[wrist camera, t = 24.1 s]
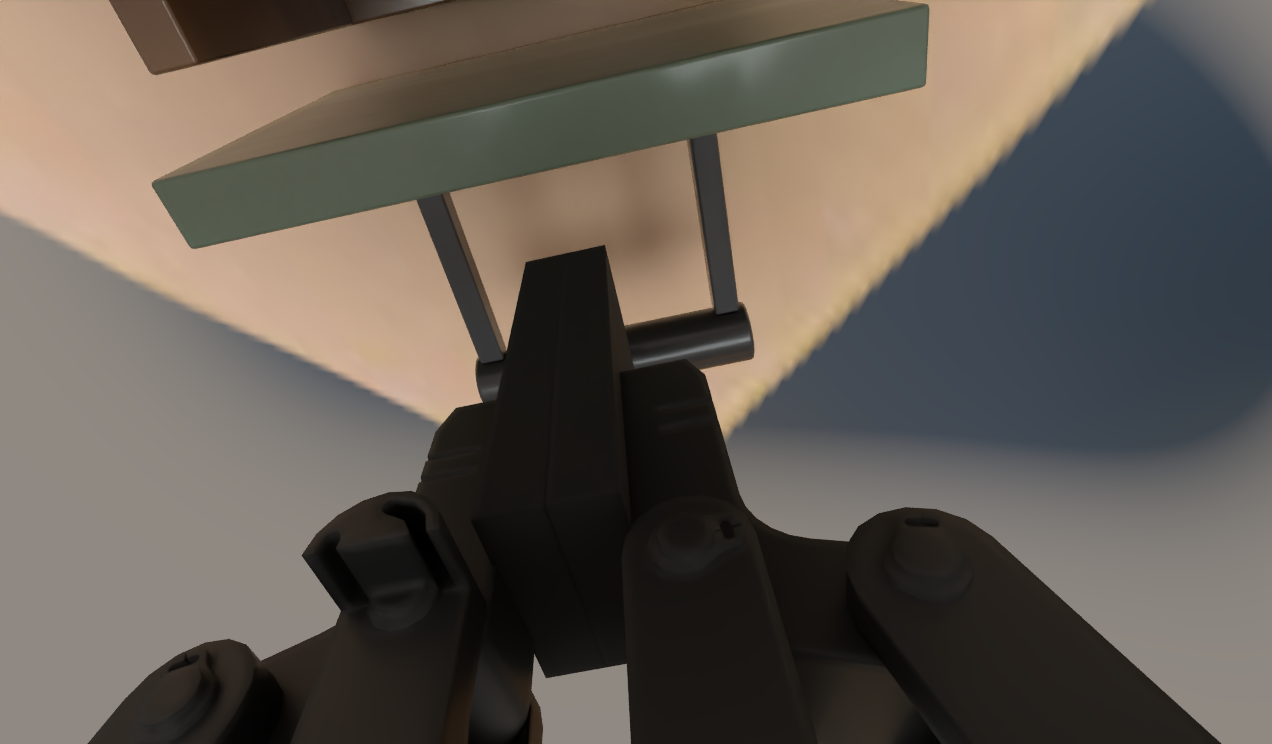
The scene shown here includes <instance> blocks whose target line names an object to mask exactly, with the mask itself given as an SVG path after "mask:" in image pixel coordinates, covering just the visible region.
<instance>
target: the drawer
mask: <svg viewBox="0 0 1272 744" xmlns="http://www.w3.org/2000/svg"><path fill="white" fill-rule="evenodd" d="M109 1H110V3H111V5H112V6H113V8H114V10H115V12H116V13H117V15H118V17H119V19H120V21H121V22H122V24H123V26H124V28H125V29H126V31H127V33H128V35H129V36H130V38H131V40H132V42H133V43H134V45H135V47H136V49H137V51H138V52H139V54H140V56H141V58H142V59H143V61H144V63H145V65H146V66H147V68H148V70H149V72H150V73H151V74H153V75H159V74H163V73H168V72H172V71H176V70H180V69H184V68H188V67H193V66H197V65H201V64H205V63H208V62H212V61H216V60H220V59H224V58H228V57H232V56H236V55H239V54H243V53H247V52H251V51H255V50H259V49H263V48H267V47H270V46H274V45H278V44H282V43H286V42H290V41H294V40H298V39H301V38H305V37H309V36H313V35H317V34H321V33H325V32H329V31H332V30H336V29H340V28H344V27H348V26H352V25H356V24H360V23H364V22H369V21H373V20H377V19H381V18H385V17H389V16H394V15H398V14H402V13H406V12H410V11H414V10H419V9H423V8H427V7H431V6H435V5H439V4H444V3H448V2H452V1H456V0H109ZM928 25H929V6H928V4H923V3H915V2H906V1H898V0H720V1H716V2H712V3H707V4H703V5H699V6H694V7H690V8H686V9H682V10H677V11H673V12H669V13H665V14H660V15H656V16H652V17H647V18H643V19H639V20H635V21H630V22H626V23H622V24H618V25H613V26H609V27H605V28H600V29H596V30H592V31H588V32H583V33H579V34H575V35H571V36H566V37H562V38H558V39H554V40H549V41H545V42H541V43H536V44H532V45H528V46H524V47H519V48H515V49H511V50H507V51H502V52H498V53H494V54H489V55H485V56H481V57H477V58H472V59H468V60H464V61H460V62H455V63H451V64H447V65H442V66H438V67H434V68H430V69H425V70H421V71H417V72H413V73H408V74H404V75H400V76H396V77H391V78H387V79H383V80H378V81H374V82H370V83H366V84H361V85H357V86H353V87H349V88H344V89H340V90H336V91H334V92H332V93H330V94H328V95H326V96H324V97H322V98H320V99H318V100H316V101H313V102H311V103H309V104H307V105H305V106H303V107H301V108H299V109H297V110H295V111H293V112H291V113H289V114H287V115H285V116H283V117H281V118H279V119H277V120H275V121H273V122H271V123H269V124H267V125H265V126H263V127H261V128H259V129H257V130H255V131H253V132H251V133H249V134H247V135H245V136H243V137H241V138H239V139H237V140H235V141H233V142H231V143H229V144H227V145H225V146H223V147H221V148H219V149H217V150H215V151H213V152H211V153H209V154H207V155H205V156H203V157H201V158H199V159H197V160H195V161H193V162H191V163H189V164H187V165H185V166H183V167H181V168H179V169H177V170H175V171H173V172H171V173H169V174H167V175H165V176H163V177H161V178H159V179H156V180H155V181H153V182H152V187H153V188H154V190H155V192H156V193H157V195H158V196H159V198H160V200H161V201H162V203H163V205H164V206H165V208H166V209H167V211H168V213H169V214H170V216H171V217H172V219H173V221H174V222H175V224H176V226H177V227H178V229H179V230H180V232H181V234H182V235H183V237H184V238H185V240H186V242H187V243H188V245H189V246H190V247H191V248H193V249H197V248H202V247H206V246H211V245H215V244H220V243H224V242H229V241H233V240H238V239H242V238H247V237H251V236H256V235H260V234H265V233H269V232H274V231H278V230H283V229H287V228H292V227H296V226H301V225H305V224H310V223H314V222H319V221H323V220H328V219H332V218H337V217H341V216H346V215H350V214H355V213H359V212H364V211H368V210H373V209H377V208H382V207H386V206H391V205H395V204H400V203H404V202H409V201H413V200H417V203H418V205H419V208H420V210H421V213H422V215H423V218H424V220H425V223H426V226H427V228H428V231H429V233H430V236H431V238H432V241H433V243H434V246H435V248H436V251H437V253H438V256H439V258H440V261H441V263H442V266H443V268H444V271H445V273H446V276H447V279H448V281H449V284H450V286H451V289H452V291H453V294H454V296H455V299H456V301H457V304H458V306H459V309H460V311H461V314H462V316H463V319H464V321H465V324H466V326H467V329H468V331H469V334H470V337H471V339H472V342H473V344H474V347H475V349H476V352H477V354H478V359H477V361H476V382H477V387H478V391H479V394H480V397H481V399H482V401H483V402H488V401H493V400H496V399H497V394H498V390H499V385H500V380H501V376H502V371H503V366H504V362H505V357H506V352H507V350H506V347H505V344H504V341H503V338H502V336H501V333H500V330H499V327H498V325H497V322H496V319H495V316H494V314H493V311H492V308H491V305H490V303H489V300H488V297H487V294H486V292H485V289H484V286H483V284H482V281H481V278H480V275H479V273H478V270H477V267H476V264H475V262H474V259H473V256H472V253H471V251H470V248H469V245H468V242H467V240H466V237H465V234H464V231H463V229H462V226H461V223H460V221H459V218H458V215H457V212H456V210H455V207H454V204H453V201H452V199H451V196H450V193H449V192H454V191H458V190H463V189H467V188H472V187H476V186H481V185H485V184H490V183H494V182H499V181H503V180H508V179H512V178H517V177H521V176H526V175H530V174H535V173H539V172H544V171H548V170H553V169H557V168H562V167H566V166H571V165H575V164H580V163H584V162H589V161H593V160H598V159H602V158H607V157H611V156H616V155H620V154H625V153H629V152H634V151H638V150H643V149H647V148H652V147H656V146H661V145H665V144H670V143H674V142H679V141H683V140H687V144H688V150H689V157H690V163H691V170H692V177H693V183H694V190H695V196H696V203H697V210H698V216H699V223H700V229H701V236H702V243H703V249H704V256H705V262H706V269H707V276H708V282H709V289H710V295H711V302H712V306H713V308H708V309H703V310H699V311H694V312H689V313H684V314H679V315H674V316H670V317H665V318H660V319H655V320H650V321H645V322H641V323H636V324H631V325H626V326H624V327H625V331H626V335H627V339H628V344H629V348H630V352H631V356H632V360H633V364H634V369H638V368H642V367H647V366H652V365H657V364H662V363H667V362H672V361H677V360H681V359H687V360H688V361H689V362H690V363H692V364H693V365H694V366H695V367H696V368H698V369H699V370H701V369H706V368H711V367H716V366H721V365H726V364H731V363H736V362H741V361H746V360H751V359H752V358H753V357H754V340H753V334H752V329H751V324H750V320H749V316H748V313H747V310H746V308H745V306H744V304H743V303H741V302H738V298H737V290H736V282H735V274H734V266H733V258H732V250H731V242H730V234H729V226H728V218H727V210H726V202H725V194H724V187H723V179H722V171H721V163H720V155H719V147H718V139H717V133H719V132H724V131H728V130H733V129H737V128H742V127H746V126H751V125H755V124H760V123H764V122H769V121H773V120H778V119H782V118H787V117H791V116H796V115H800V114H805V113H809V112H814V111H818V110H823V109H827V108H832V107H836V106H841V105H845V104H850V103H854V102H859V101H863V100H868V99H872V98H876V97H881V96H885V95H890V94H894V93H899V92H903V91H908V90H912V89H917V88H921V87H923V86H925V84H926V69H927V47H928Z"/></svg>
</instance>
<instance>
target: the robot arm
mask: <svg viewBox="0 0 1272 744" xmlns="http://www.w3.org/2000/svg"><path fill="white" fill-rule="evenodd" d="M421 480H422V481H421V482H420V483H419V484H418V487H417V490H416V492H412V491H405V492H389V493H386V494H382V495H379V496H376V497H373V498H370V499H367V500H364V501H362V502H360V503H358V504H357V505H355V506H353V507H352V508H350V509H348V510H346V511H344V512H343V513H341V514H339V515H338V516H336V517H335V518H334V519H333V520H332V521H331V522H330V523H328V524H327V525H326V526H325V527H324V528H323V529H322V530H320V531H319V532H318V533H317V534H316V536H315V537H314V538H313V540H312V541H311V543H310V544H309V545H308V547H307V548H306V550H305V551H304V553H303V554H302V557H303V558H304V559H305V561H306V562H307V564H308V565H309V566H310V568H311V569H312V571H313V572H314V573H315V575H316V576H317V578H318V579H319V580H320V582H321V583H322V585H323V586H324V588H325V589H326V590H327V592H328V593H329V595H330V596H331V597H332V599H333V600H334V602H335V603H336V604H337V606H338V607H339V608H340V610H341V612H340V615H339V618H338V620H337V623H336V625H335V626H333V627H332V628H330V629H328V630H326V631H324V632H322V633H321V634H319V635H316V636H314V637H312V638H310V639H308V640H305V641H303V642H301V643H299V644H297V645H295V646H292V647H290V648H288V649H286V650H284V651H282V652H279V653H277V654H275V655H273V656H271V657H268V658H266V659H264V660H262V661H260V660H259V659H258V657H257V656H256V655H255V654H254V653H253V652H252V651H251V649H250V648H249V647H248V646H247V645H246V644H243V643H240V642H237V641H234V640H230V639H227V640H220V641H213V642H206V643H204V644H201V645H199V646H197V647H194V648H192V649H190V650H188V651H185V652H183V653H181V654H179V655H177V656H175V657H174V658H173V659H171V660H170V661H168V662H167V663H166V664H164V665H163V666H161V667H160V668H158V669H157V670H156V671H154V672H153V673H151V674H150V675H149V676H148V677H147V678H146V679H145V680H144V681H143V682H142V683H141V684H140V685H139V686H138V687H137V688H136V689H135V690H134V691H133V692H132V693H131V694H130V695H129V696H128V697H127V698H126V699H125V700H124V701H123V702H122V703H121V704H120V706H119V707H118V708H117V709H116V710H115V712H114V713H113V714H112V715H111V716H110V718H109V719H108V720H107V721H106V722H105V724H104V725H103V726H102V727H101V729H100V730H99V731H98V732H97V733H96V734H95V736H94V737H93V738H92V739H91V741H90V742H89V743H88V744H542V734H543V733H542V732H543V725H542V718H541V710H540V706H539V705H538V703H537V701H536V699H535V697H534V695H533V693H532V691H531V687H532V675H533V662H534V654H535V656H536V658H537V660H538V662H539V664H540V666H541V668H542V671H543V673H544V675H545V677H546V678H549V677H555V676H561V675H566V674H571V673H577V672H583V671H588V670H593V669H600V668H605V667H611V666H616V665H621V664H627V674H628V692H629V712H630V731H631V744H1221V743H1220V742H1219V741H1218V740H1217V739H1216V738H1214V737H1213V736H1212V735H1211V734H1210V733H1209V732H1208V731H1207V730H1206V729H1204V728H1203V727H1202V726H1201V725H1200V724H1199V723H1198V722H1197V721H1196V720H1194V719H1193V718H1192V717H1191V716H1190V715H1189V714H1188V713H1187V712H1186V711H1185V710H1183V709H1182V708H1181V707H1180V706H1179V705H1178V704H1177V703H1176V702H1175V701H1174V700H1172V699H1171V698H1170V697H1169V696H1168V695H1167V694H1166V693H1165V692H1163V691H1162V690H1161V689H1160V688H1159V687H1158V686H1157V685H1156V684H1155V683H1153V681H1151V680H1150V679H1149V678H1148V677H1147V676H1146V675H1145V674H1144V673H1143V672H1141V671H1140V670H1139V669H1138V668H1137V667H1136V666H1135V665H1134V664H1133V663H1132V662H1130V661H1129V660H1128V659H1127V658H1126V657H1125V656H1124V655H1123V654H1122V653H1121V652H1119V651H1118V650H1117V649H1116V648H1115V647H1114V646H1113V645H1112V644H1111V643H1109V642H1108V641H1107V640H1106V639H1105V638H1104V637H1103V636H1102V635H1101V634H1099V633H1098V632H1097V631H1096V630H1095V629H1094V628H1093V627H1092V626H1091V625H1090V624H1088V623H1087V622H1086V621H1085V620H1084V619H1083V618H1082V617H1081V616H1080V615H1079V614H1077V613H1076V612H1075V611H1074V610H1073V609H1072V608H1071V607H1070V606H1069V605H1067V604H1066V603H1065V602H1064V601H1063V600H1062V599H1061V598H1060V597H1059V596H1057V595H1056V594H1055V593H1054V592H1053V591H1052V590H1051V589H1050V588H1049V587H1048V586H1046V585H1045V584H1044V583H1043V582H1042V581H1041V580H1040V579H1039V578H1038V577H1036V576H1035V575H1034V574H1033V573H1032V572H1031V571H1030V570H1029V569H1028V568H1027V567H1025V566H1024V565H1023V564H1022V563H1021V562H1020V561H1019V560H1018V559H1017V558H1015V557H1014V556H1013V555H1012V554H1011V553H1010V552H1009V551H1008V550H1007V549H1006V548H1004V547H1003V546H1002V545H1001V544H1000V543H999V542H998V541H997V540H996V539H995V538H993V537H992V536H991V535H989V534H988V533H986V532H985V531H983V530H982V529H980V528H979V527H977V526H976V525H974V524H973V523H971V522H970V521H968V520H967V519H964V518H961V517H958V516H955V515H952V514H949V513H946V512H943V511H940V510H937V509H924V508H907V507H905V508H901V509H896V510H892V511H887V512H883V513H879V514H877V515H875V516H874V517H872V518H871V519H869V520H868V521H866V522H864V523H863V524H861V525H860V526H858V528H857V529H856V531H855V532H854V534H853V536H852V537H851V539H850V541H849V542H847V541H834V540H821V539H810V538H804V537H798V536H793V535H789V534H786V533H783V532H781V531H778V530H775V529H773V528H771V527H769V526H768V525H766V524H764V523H763V522H761V521H760V520H758V519H757V518H756V517H755V516H754V515H753V514H752V513H751V512H750V511H749V510H748V509H747V508H746V506H745V504H744V502H743V500H742V498H741V496H740V494H739V491H738V487H737V484H736V480H735V477H734V473H733V470H732V466H731V463H730V459H729V456H728V453H727V449H726V445H725V442H724V439H723V435H722V432H721V428H720V425H719V421H718V419H717V414H716V411H715V407H714V404H713V401H712V397H711V393H710V390H709V387H708V383H707V380H706V376H705V374H704V373H702V372H701V371H700V370H699V369H698V368H696V367H695V366H694V365H693V364H692V363H690V362H689V361H688V360H687V359H681V360H677V361H672V362H667V363H662V364H657V365H652V366H647V367H642V368H638V369H634V364H633V360H632V356H631V352H630V348H629V344H628V339H627V335H626V331H625V327H624V323H623V319H622V314H621V310H620V306H619V302H618V298H617V294H616V289H615V285H614V281H613V277H612V273H611V269H610V265H609V260H608V256H607V252H606V248H605V245H603V246H598V247H593V248H589V249H584V250H580V251H575V252H570V253H566V254H561V255H556V256H552V257H547V258H542V259H538V260H533V261H529V262H526V264H525V269H524V273H523V278H522V282H521V287H520V292H519V296H518V301H517V306H516V310H515V315H514V320H513V324H512V329H511V334H510V338H509V343H508V348H507V352H506V357H505V362H504V366H503V371H502V376H501V380H500V385H499V390H498V394H497V399H496V400H493V401H488V402H483V403H478V404H473V405H469V406H464V407H459V408H456V409H455V410H454V411H453V412H452V413H451V415H450V416H449V417H448V418H447V419H446V420H445V422H444V423H443V424H442V425H441V426H440V427H439V429H438V430H437V431H436V433H435V436H434V439H433V442H432V445H431V448H430V451H429V454H428V461H427V462H426V463H425V466H424V469H423V472H422V475H421Z"/></svg>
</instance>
